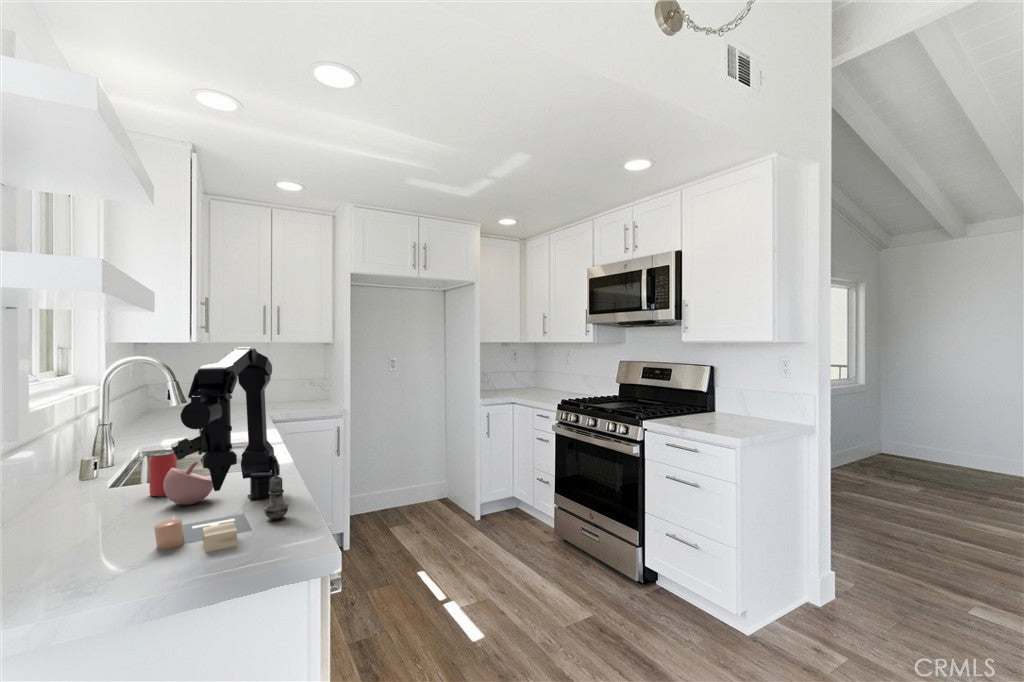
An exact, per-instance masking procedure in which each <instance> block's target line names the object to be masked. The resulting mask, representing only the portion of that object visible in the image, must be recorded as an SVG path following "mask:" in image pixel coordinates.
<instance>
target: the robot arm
mask: <svg viewBox="0 0 1024 682" xmlns="http://www.w3.org/2000/svg"><path fill="white" fill-rule="evenodd" d="M272 373H273V364H272V363H271V361H270V359H269V358H268V357H267V356H265V355H264V354H261V353H259V352H258V351H257V349H256V348H254V347H252V346H251V347H249V346H245V347H242V346H241V347H239V346H238V347H236V348H233V349H232V351H231V352H230V353H229V354H228V355H226V356H225V357H224V358H222V359H221V360H220V361H218V362H217V363H210V364H205V365H202V366H200V367H199V368H198V369H197V371H196V372H195V374H194V375H193V379H192V383H191V386H190V389H189V392H188V396H187V397H188V399H190V402H189V403H187V404H186V405H185V406H183V408H182V410H181V412H180V421H181V422H182V424H183V425H184V427H186V428H188V429H191V430H198V433H196V434H192V435H191V436H187V437H184V438H182V439H181V440H180V439H179V440H177V441H175V442H173V443H172V444H170V447H171V451H173V452H174V454H175V456H176V461H179V460H180V461H181V460H183V459H184V458H186V457H187V456H189V455H193V454H195V453H198V455H202V457H201V458H200V459H199V460H200V462H201V465H202V468H203V469H208V471H209V475H210V476H209V477H211V480H212V484H213V491H214V492H219V491H221V488H222V486H223V484H224V482H225V479H226V478H227V475H228V473H229V471H230V469H231V466H235V465H237V464H238V456H237V454H236V452H235V451H233V444H232V441H231V439H232V434H231V433H232V432H233V431H232V430H233V427H232V424H231V423H232V422H231V421H232V420H231V419H232V417H231V399H232V398H233V396H232V394H233V392H234V389H235V387H236V385H237V382H238V385H240V387H241V388H242V390H243V391H244V392H245V403H246V419H247V420H246V421H247V423H246V425H247V436H248V437H247V438H248V441H247V442H248V444H247V446H246V447H245V450H244V451H242V453H241V459H240V469H241V474H242V479H243V480H245V479H249V488H250V489H249V490H250V491H249V494H247V498H248V499H249V501H250V502H257V501H262V500H267V499H269V500H270V494H269V493H268V492H269V491H270V480H271V478H273V477H275V474H277V476H278V477H280V475H281V474H280V473H281V472H280V471H281V470H280V469H281V465H280V463H279V460H278V458H277V456H276V455H275V450H274V446H273V445H272V444H271V443H270V442H269V441H268V434H267V432H268V430H267V415H266V414H267V413H266V409H267V408H266V392H265V391H266V388H267V386H268V385H269V383H270V381H271V376H272Z"/></svg>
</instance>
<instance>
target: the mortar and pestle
mask: <svg viewBox="0 0 1024 682" xmlns="http://www.w3.org/2000/svg"><path fill="white" fill-rule="evenodd" d="M198 464H199V461H197V460H196V461H194V462H192V463H191V464H190V466H189V467H188V469H187V470H184V469H180V468H178V467H177V468H171V469H170V470H169V472H168V473H167V475H166V477H165V479H164V485H163V486H164V491H165V494H166V496H165V497H167V498H168V499H169V500H170V501H172V503H175V504H176V505H177V504H178V505H182V506H183V505H184V506H189V505H194V504H197V503H199V502H201V501H203V500H204V499H206V498H207V497H208V496H209V495H210V494H211V493H212V491H213V490H214V488H213V484H212V480H211V476H207V475H202V474H198V473H194V472H192V471H194V469H195V467H196V466H197V465H198Z"/></svg>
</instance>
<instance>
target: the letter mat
mask: <svg viewBox="0 0 1024 682" xmlns="http://www.w3.org/2000/svg"><path fill="white" fill-rule="evenodd" d="M231 522H234V524H235V527H236V530H237V535H238V534H243V533H246V532H251V531H253V529H252V527H251V525H250V523H249V520H248V518H247V516H246V514H245V513H241V514H240V513H239V514H235V515H229V516H224V517H218V518H212V519H207V520H202V521H196V522H190V523H185V524H182V527H183V535H184V544H183V545H187V544H192V543H197V542H203V528H204V527H210V526H215V525H220V524H226V523H231Z"/></svg>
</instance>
